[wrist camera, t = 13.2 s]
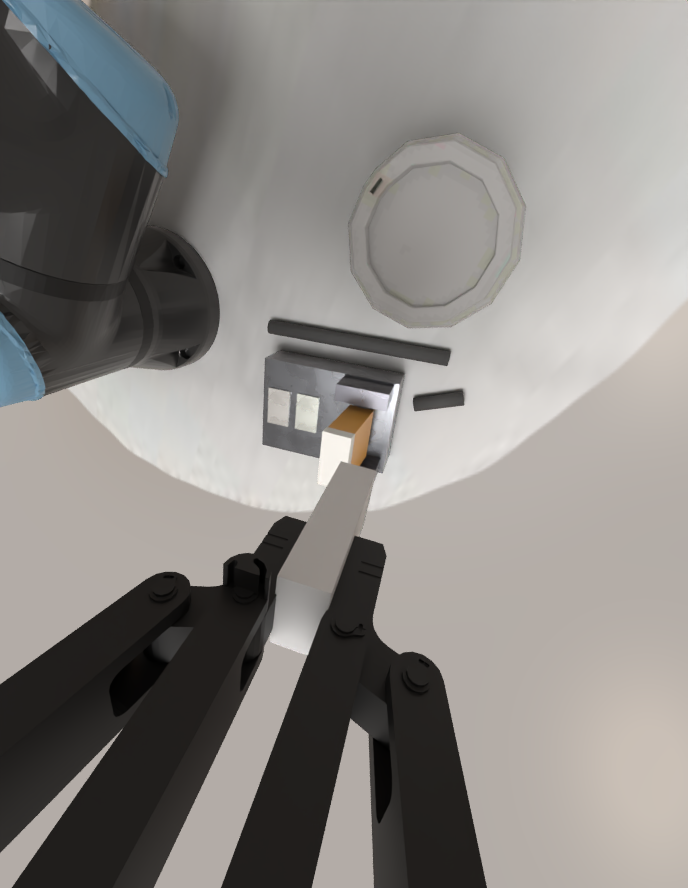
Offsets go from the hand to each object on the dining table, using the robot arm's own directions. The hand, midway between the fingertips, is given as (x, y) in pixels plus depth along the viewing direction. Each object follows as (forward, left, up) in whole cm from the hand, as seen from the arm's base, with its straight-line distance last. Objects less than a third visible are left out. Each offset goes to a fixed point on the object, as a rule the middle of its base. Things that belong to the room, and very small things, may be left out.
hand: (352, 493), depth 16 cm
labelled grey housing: (-8, -7, -27) cm, 29 cm away
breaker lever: (-4, -7, -22) cm, 23 cm away
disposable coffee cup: (0, +10, -27) cm, 29 cm away
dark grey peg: (+3, -4, -27) cm, 27 cm away
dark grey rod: (-6, 0, -27) cm, 28 cm away
